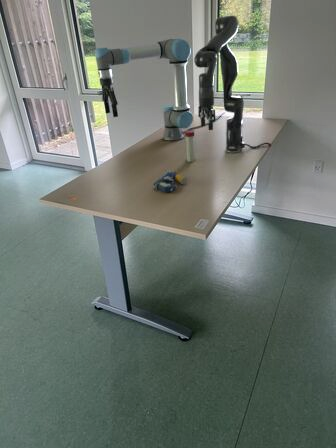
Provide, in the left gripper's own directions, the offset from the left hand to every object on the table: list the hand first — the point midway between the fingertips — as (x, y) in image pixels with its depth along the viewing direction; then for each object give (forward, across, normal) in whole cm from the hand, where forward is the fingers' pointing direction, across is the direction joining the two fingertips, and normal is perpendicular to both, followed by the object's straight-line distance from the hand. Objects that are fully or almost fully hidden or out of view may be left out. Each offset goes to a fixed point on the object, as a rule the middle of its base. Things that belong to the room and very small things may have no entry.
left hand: (111, 114), depth 206 cm
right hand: (+3, +57, +32) cm, 65 cm away
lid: (+10, +34, +34) cm, 50 cm away
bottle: (+28, +34, +34) cm, 56 cm away
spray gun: (+28, +59, +7) cm, 65 cm away
